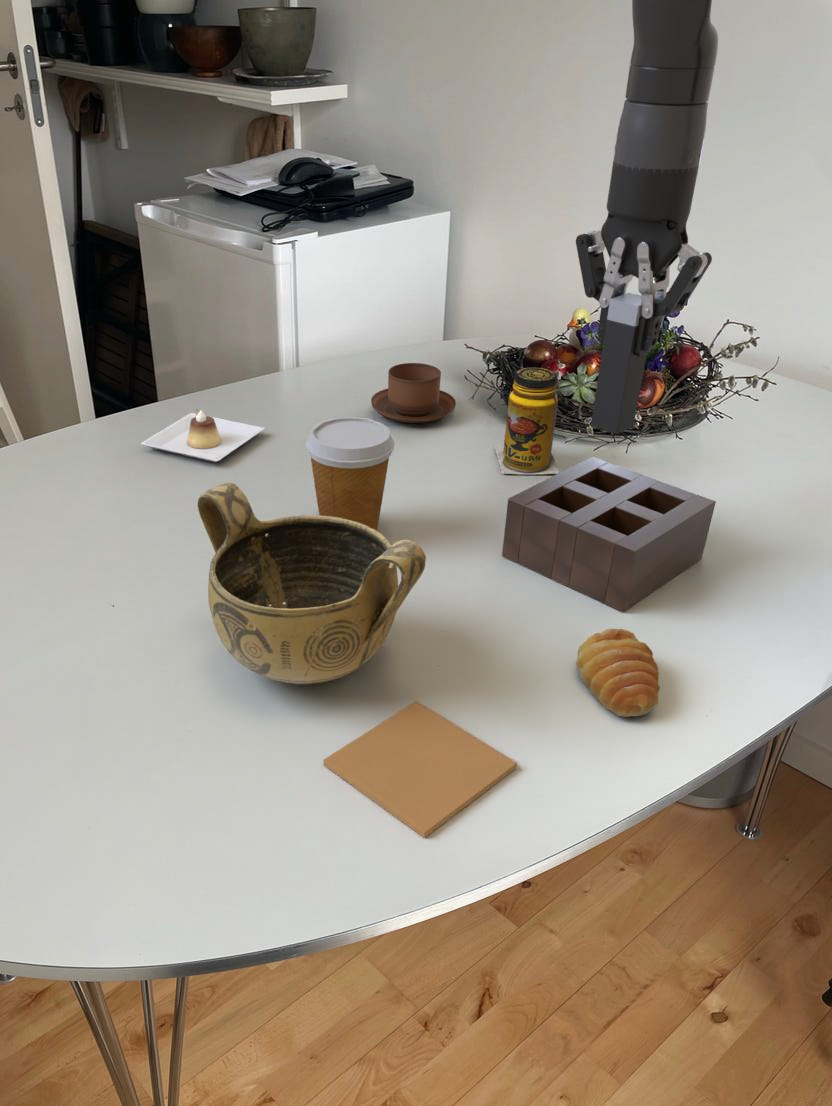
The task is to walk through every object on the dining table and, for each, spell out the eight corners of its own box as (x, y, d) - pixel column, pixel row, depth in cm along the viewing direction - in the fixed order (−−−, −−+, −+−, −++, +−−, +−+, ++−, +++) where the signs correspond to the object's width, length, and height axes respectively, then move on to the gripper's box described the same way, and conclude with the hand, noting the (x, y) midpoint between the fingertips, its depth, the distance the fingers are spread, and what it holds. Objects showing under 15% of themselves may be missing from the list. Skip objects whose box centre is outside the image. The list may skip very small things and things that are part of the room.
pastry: (674, 721, 83) (683, 685, 80) (597, 725, 82) (603, 689, 80) (639, 656, 90) (646, 622, 88) (568, 660, 90) (573, 626, 88)
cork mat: (516, 768, 78) (517, 762, 77) (424, 838, 71) (424, 832, 71) (416, 705, 84) (416, 700, 84) (323, 765, 78) (323, 759, 77)
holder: (701, 559, 105) (716, 501, 101) (622, 612, 96) (635, 551, 92) (583, 511, 114) (592, 456, 110) (501, 556, 105) (507, 498, 101)
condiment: (502, 475, 122) (512, 383, 115) (494, 447, 129) (502, 359, 122) (559, 475, 122) (573, 383, 115) (548, 447, 129) (560, 359, 122)
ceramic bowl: (457, 659, 90) (470, 514, 81) (350, 758, 78) (352, 603, 70) (271, 583, 100) (265, 449, 92) (153, 662, 89) (133, 516, 80)
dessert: (191, 419, 136) (188, 386, 133) (265, 435, 132) (264, 401, 129) (140, 451, 127) (136, 416, 124) (218, 469, 123) (215, 433, 120)
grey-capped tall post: (633, 426, 101) (656, 299, 94) (616, 434, 99) (638, 305, 92) (607, 417, 103) (628, 292, 96) (590, 425, 101) (609, 298, 94)
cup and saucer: (363, 401, 142) (364, 359, 139) (442, 396, 144) (445, 355, 141) (380, 433, 133) (381, 389, 129) (464, 427, 135) (468, 384, 131)
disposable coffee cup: (357, 505, 115) (359, 408, 108) (408, 536, 109) (413, 436, 102) (290, 527, 110) (287, 428, 104) (339, 561, 104) (339, 458, 97)
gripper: (750, 163, 85) (708, 357, 95) (613, 145, 93) (587, 325, 103) (706, 173, 80) (667, 376, 90) (566, 153, 89) (544, 341, 99)
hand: (624, 348), depth 97 cm, fingers closed on grey-capped tall post, 3 cm apart
